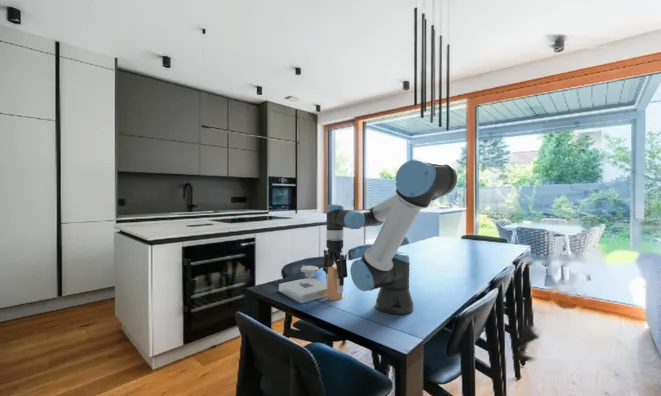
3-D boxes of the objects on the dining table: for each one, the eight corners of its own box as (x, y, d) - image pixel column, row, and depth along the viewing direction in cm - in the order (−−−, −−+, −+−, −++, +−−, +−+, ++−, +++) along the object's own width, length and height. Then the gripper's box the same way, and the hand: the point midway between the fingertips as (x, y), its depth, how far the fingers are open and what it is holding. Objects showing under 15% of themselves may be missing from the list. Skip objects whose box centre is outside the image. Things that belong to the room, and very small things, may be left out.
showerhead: (307, 263, 168) (321, 265, 162) (307, 275, 168) (321, 278, 162) (296, 266, 161) (310, 269, 155) (296, 279, 161) (310, 283, 155)
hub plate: (334, 294, 138) (334, 286, 138) (301, 303, 127) (301, 295, 127) (310, 283, 154) (310, 277, 154) (279, 291, 143) (279, 283, 142)
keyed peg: (336, 296, 136) (336, 265, 136) (342, 298, 133) (342, 267, 133) (327, 298, 133) (327, 267, 133) (333, 301, 130) (333, 269, 130)
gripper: (356, 241, 127) (356, 294, 128) (327, 235, 143) (327, 282, 143) (343, 243, 122) (342, 298, 123) (315, 236, 138) (314, 285, 139)
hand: (334, 289), depth 133 cm, fingers open, 7 cm apart
